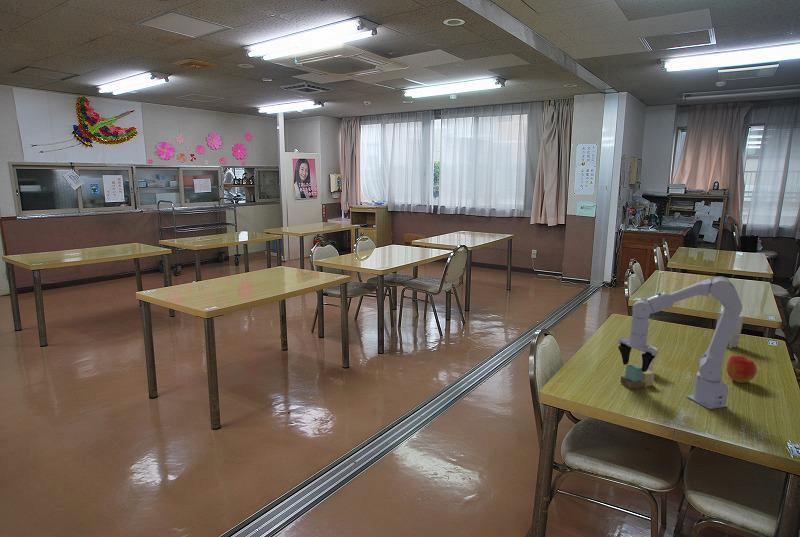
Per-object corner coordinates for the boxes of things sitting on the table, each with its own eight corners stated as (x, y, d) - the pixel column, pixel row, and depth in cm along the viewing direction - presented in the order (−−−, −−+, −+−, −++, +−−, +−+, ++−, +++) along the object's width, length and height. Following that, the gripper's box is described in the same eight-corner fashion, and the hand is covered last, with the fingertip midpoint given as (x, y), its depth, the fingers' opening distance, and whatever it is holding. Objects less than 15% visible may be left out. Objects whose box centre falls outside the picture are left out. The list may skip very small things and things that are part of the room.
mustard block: (652, 385, 177) (654, 373, 176) (644, 386, 176) (645, 374, 175) (644, 381, 181) (646, 368, 180) (636, 382, 179) (637, 369, 179)
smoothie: (657, 374, 187) (661, 341, 184) (639, 373, 188) (643, 339, 185) (652, 368, 193) (656, 335, 190) (635, 366, 194) (639, 334, 191)
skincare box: (712, 343, 224) (717, 311, 221) (720, 341, 227) (725, 310, 224) (730, 349, 217) (735, 316, 214) (739, 347, 219) (744, 315, 216)
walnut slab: (644, 389, 174) (645, 382, 173) (629, 390, 173) (630, 382, 172) (634, 382, 179) (635, 375, 179) (620, 383, 179) (621, 376, 178)
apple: (743, 388, 176) (747, 363, 174) (718, 378, 184) (721, 354, 182) (759, 384, 179) (764, 359, 177) (734, 374, 188) (738, 351, 186)
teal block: (634, 382, 173) (636, 369, 172) (624, 378, 176) (626, 365, 175) (641, 380, 175) (643, 367, 174) (631, 376, 178) (633, 363, 177)
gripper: (664, 336, 168) (660, 372, 170) (627, 325, 180) (624, 359, 183) (652, 340, 164) (648, 376, 167) (616, 328, 177) (612, 362, 179)
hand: (634, 367), depth 175 cm, fingers open, 7 cm apart
